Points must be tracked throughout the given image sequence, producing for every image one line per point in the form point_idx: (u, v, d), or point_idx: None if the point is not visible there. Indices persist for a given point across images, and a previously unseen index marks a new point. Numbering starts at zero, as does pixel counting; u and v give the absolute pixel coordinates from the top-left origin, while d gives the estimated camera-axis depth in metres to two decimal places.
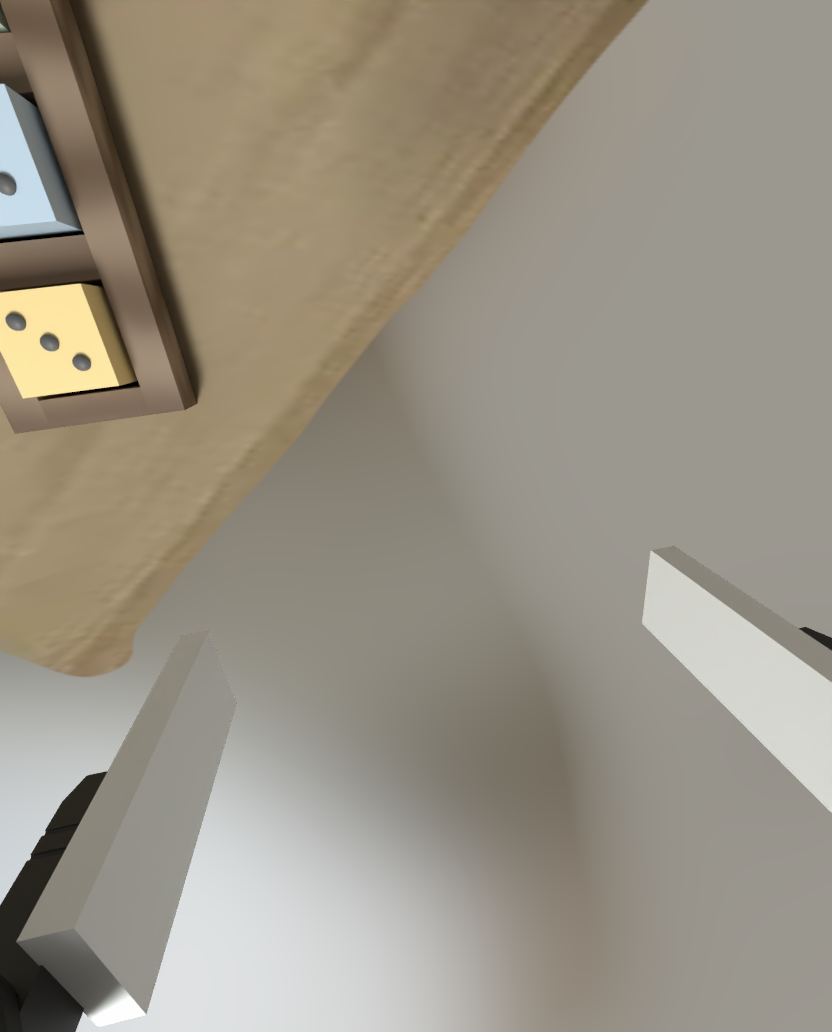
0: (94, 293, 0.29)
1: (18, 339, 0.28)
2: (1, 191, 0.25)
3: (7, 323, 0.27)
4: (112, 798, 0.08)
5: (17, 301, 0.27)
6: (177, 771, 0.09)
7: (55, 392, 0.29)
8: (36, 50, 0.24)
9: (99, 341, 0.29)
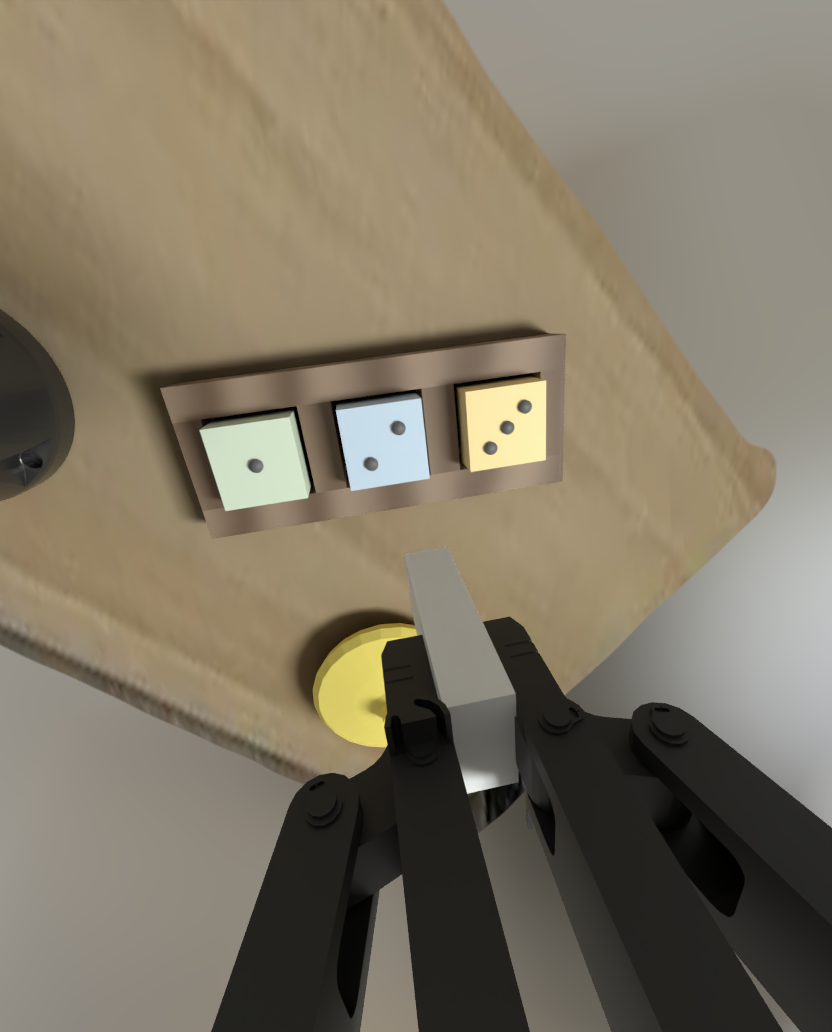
0: (467, 388, 0.33)
1: (502, 450, 0.34)
2: (403, 431, 0.32)
3: (491, 454, 0.34)
4: (442, 641, 0.10)
5: (476, 443, 0.34)
6: None
7: (544, 434, 0.34)
8: (304, 391, 0.32)
9: (509, 388, 0.32)
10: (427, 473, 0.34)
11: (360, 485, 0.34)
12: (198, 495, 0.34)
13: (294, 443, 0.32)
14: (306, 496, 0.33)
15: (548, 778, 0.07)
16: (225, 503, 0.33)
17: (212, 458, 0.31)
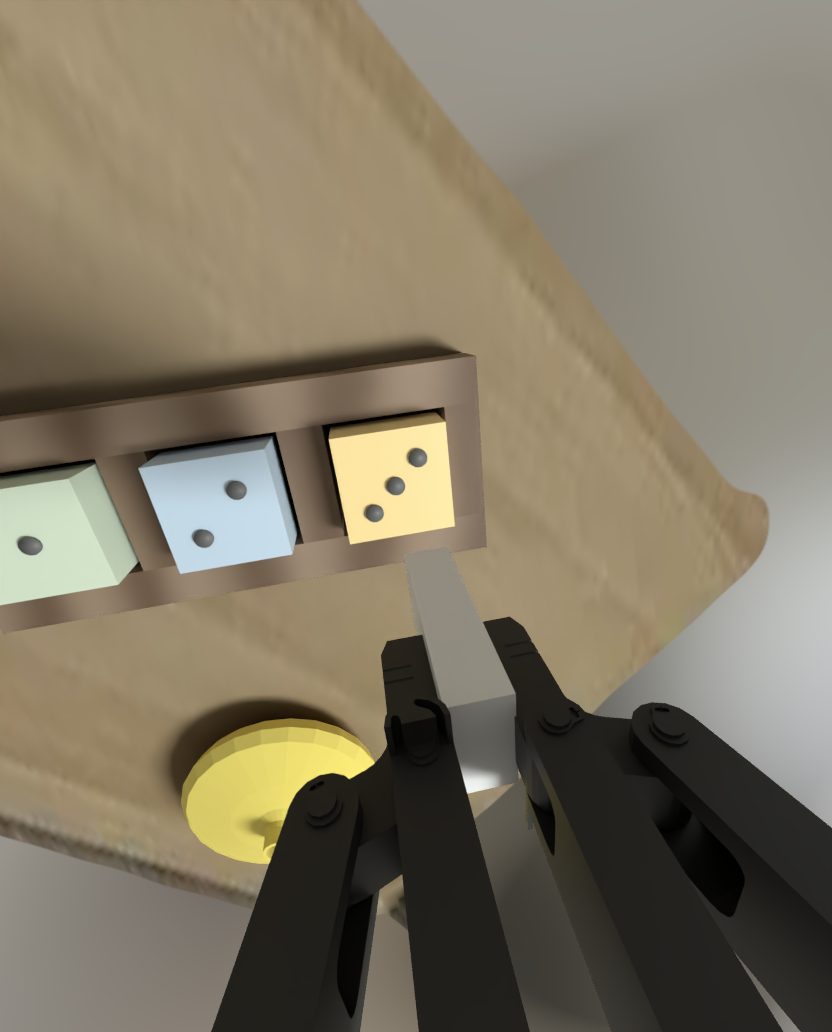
0: (338, 432, 0.24)
1: (392, 515, 0.25)
2: (244, 495, 0.23)
3: (377, 521, 0.25)
4: (442, 641, 0.10)
5: (353, 507, 0.24)
6: None
7: (450, 493, 0.25)
8: (102, 438, 0.23)
9: (393, 433, 0.23)
10: (288, 548, 0.25)
11: (192, 566, 0.24)
12: None
13: (83, 514, 0.22)
14: (115, 582, 0.24)
15: (548, 778, 0.07)
16: None
17: None
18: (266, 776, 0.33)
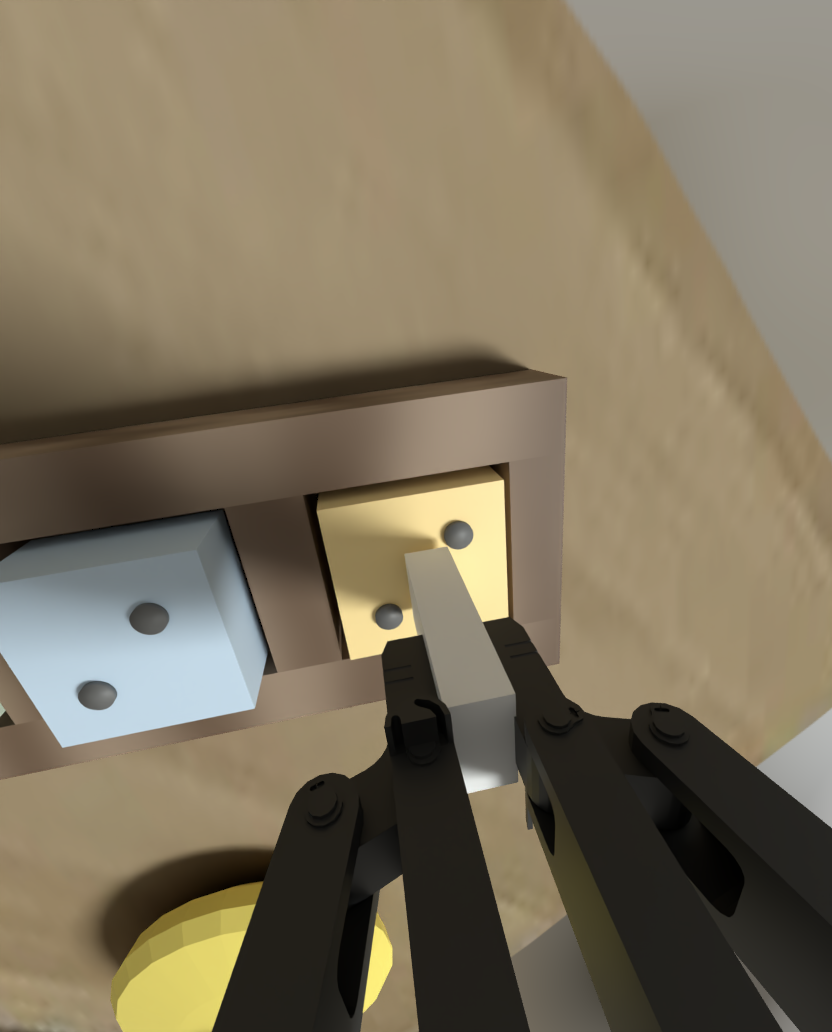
0: (332, 494, 0.15)
1: None
2: (163, 626, 0.13)
3: (392, 628, 0.16)
4: (442, 641, 0.10)
5: (355, 608, 0.16)
6: None
7: (504, 583, 0.16)
8: None
9: (421, 498, 0.14)
10: (247, 699, 0.15)
11: (83, 735, 0.14)
12: None
13: None
14: None
15: (548, 778, 0.07)
16: None
17: None
18: (229, 976, 0.23)
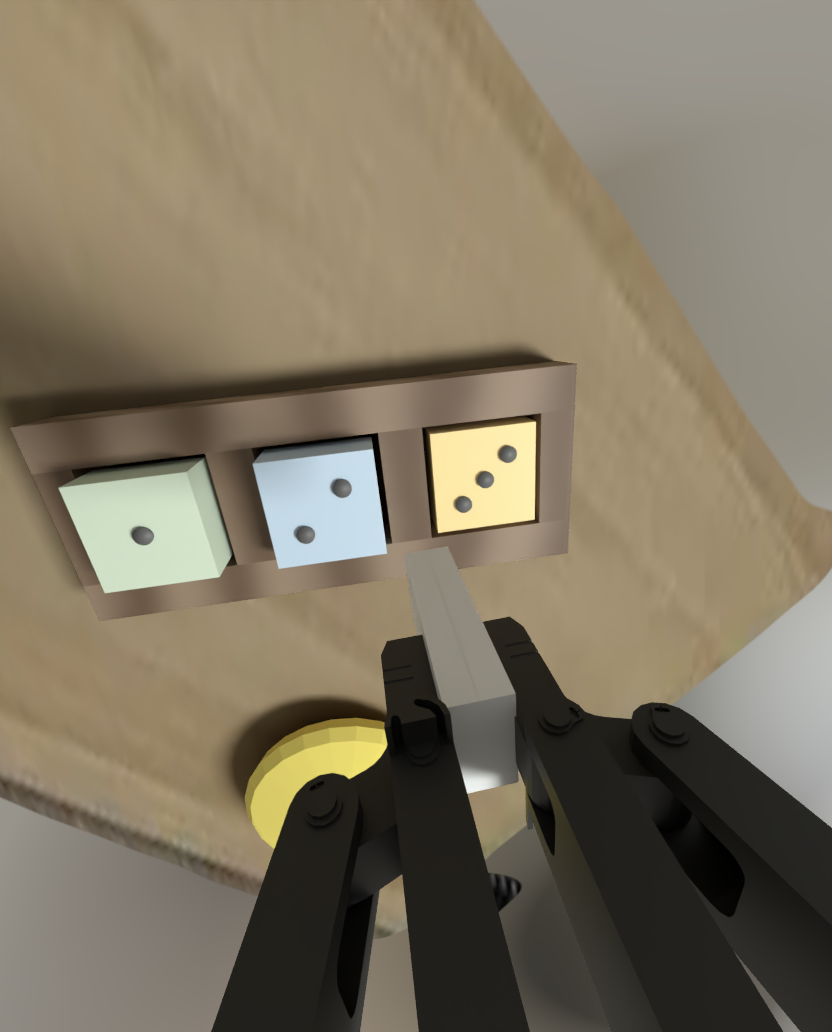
0: (434, 428, 0.26)
1: (479, 507, 0.27)
2: (349, 493, 0.23)
3: (465, 512, 0.27)
4: (442, 642, 0.10)
5: (444, 498, 0.26)
6: None
7: (533, 488, 0.27)
8: (215, 434, 0.24)
9: (488, 430, 0.25)
10: (383, 547, 0.25)
11: (291, 561, 0.25)
12: (76, 567, 0.25)
13: (196, 506, 0.23)
14: (217, 575, 0.25)
15: (548, 778, 0.07)
16: (104, 583, 0.24)
17: (80, 525, 0.23)
18: None
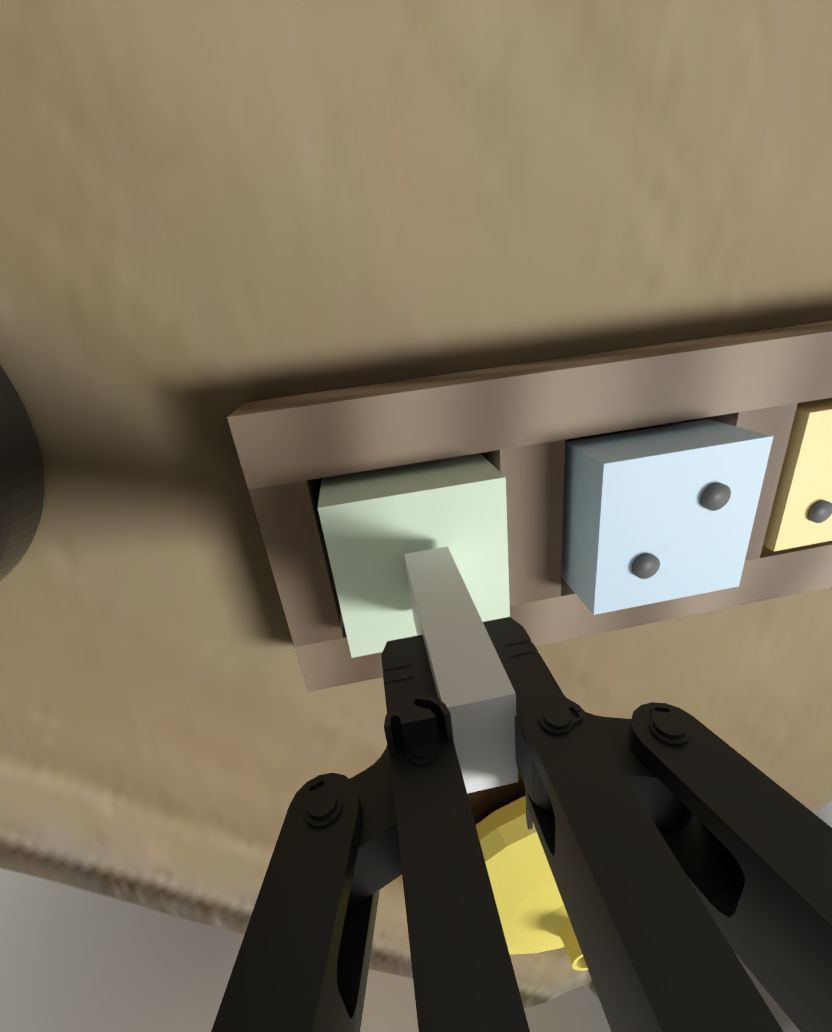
0: None
1: None
2: (723, 503, 0.16)
3: (819, 522, 0.19)
4: (442, 641, 0.10)
5: (797, 503, 0.19)
6: None
7: None
8: (520, 420, 0.16)
9: None
10: (737, 577, 0.17)
11: (613, 604, 0.17)
12: (289, 621, 0.17)
13: (505, 528, 0.15)
14: None
15: (548, 778, 0.07)
16: (353, 644, 0.16)
17: (338, 563, 0.15)
18: None
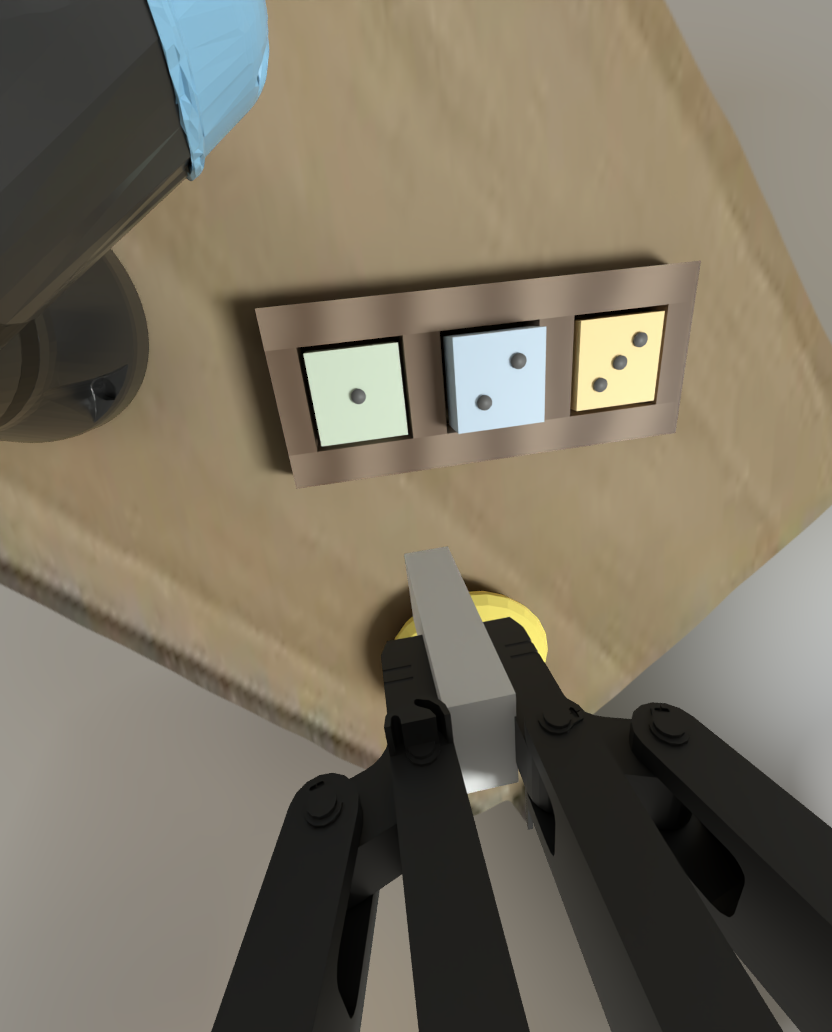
0: (578, 320, 0.31)
1: (611, 388, 0.32)
2: (523, 365, 0.29)
3: (600, 391, 0.32)
4: (442, 641, 0.10)
5: (585, 379, 0.32)
6: None
7: (656, 371, 0.32)
8: (412, 317, 0.29)
9: (626, 318, 0.31)
10: (542, 415, 0.31)
11: (469, 427, 0.30)
12: (286, 437, 0.31)
13: (400, 372, 0.30)
14: (406, 432, 0.31)
15: (548, 778, 0.07)
16: (322, 437, 0.31)
17: (313, 386, 0.29)
18: None
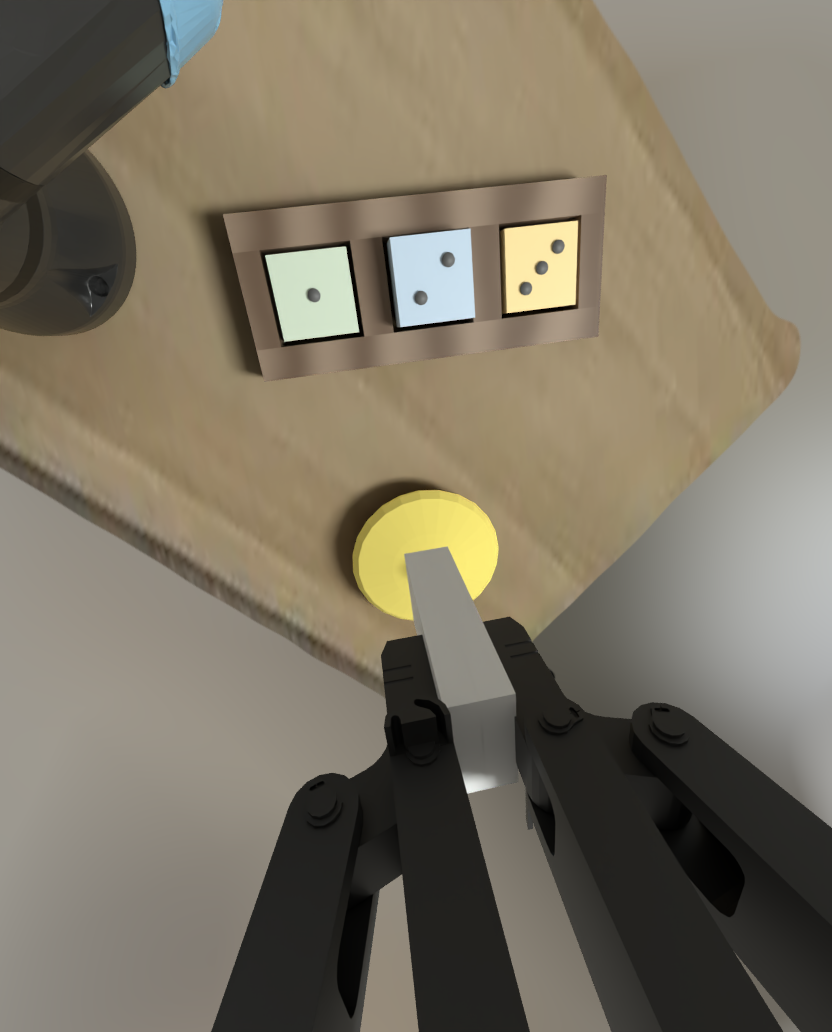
0: None
1: (536, 292, 0.37)
2: (452, 263, 0.34)
3: (526, 295, 0.37)
4: (442, 641, 0.10)
5: (512, 283, 0.37)
6: None
7: (575, 277, 0.37)
8: (358, 224, 0.34)
9: (544, 226, 0.36)
10: (473, 311, 0.36)
11: (409, 321, 0.35)
12: (253, 333, 0.36)
13: (349, 274, 0.35)
14: (357, 330, 0.37)
15: (548, 778, 0.07)
16: (284, 333, 0.36)
17: (275, 285, 0.34)
18: (422, 526, 0.43)
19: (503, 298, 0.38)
